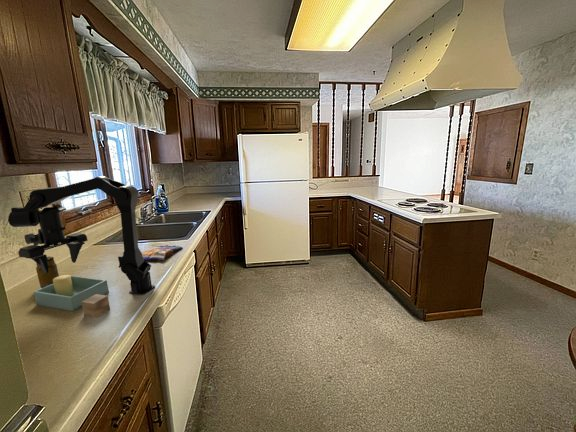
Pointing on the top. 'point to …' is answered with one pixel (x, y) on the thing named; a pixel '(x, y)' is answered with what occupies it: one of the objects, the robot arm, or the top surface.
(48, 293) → the tote
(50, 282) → the condiment
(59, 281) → the yellow teardrop shape
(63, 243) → the robot arm
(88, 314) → the walnut cube
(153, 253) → the food package
